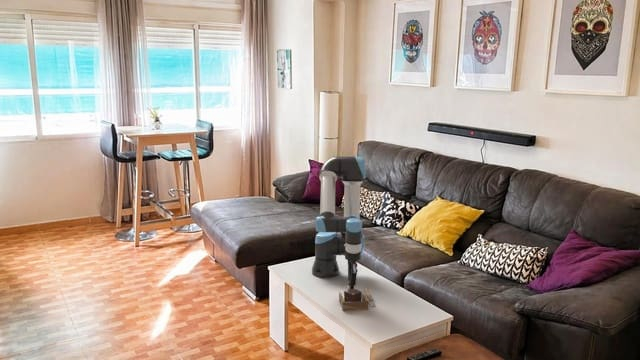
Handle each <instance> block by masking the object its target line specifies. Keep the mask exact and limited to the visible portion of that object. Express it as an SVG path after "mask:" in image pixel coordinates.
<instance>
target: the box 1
mask: <svg viewBox="0 0 640 360" xmlns="http://www.w3.org/2000/svg"><path fill="white" fill-rule="evenodd" d="M362 292H363V291H362V290H361V291H360V290H359V289H356V288H355V287H354V288H352V289H349V288H348V289H347V290H345V291H343V299H344V301H345V302H352V301H362V300H361V293H362Z"/></svg>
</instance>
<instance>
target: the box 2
mask: <svg viewBox="0 0 640 360" xmlns="http://www.w3.org/2000/svg"><path fill="white" fill-rule="evenodd" d="M361 292H362V293H361V301H352V302H345V301H344V295H343V294H342V292H338V301H339V305H340V307H341V310H342V311H343V312H344V311H345V312H346V311H368V310H369V303H368V299H367V296H366V294H365V292H364V291H361Z"/></svg>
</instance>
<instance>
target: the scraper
mask: <svg viewBox="0 0 640 360" xmlns="http://www.w3.org/2000/svg"><path fill="white" fill-rule="evenodd" d="M363 292H364V294H365V296H366V298H367V300H368V306H369V307H370V308H374V307H375V308H376V304H375V301H374V299H373V297H372V295H371V293H370V291H369V288H367V287H365V288H364V289H363Z"/></svg>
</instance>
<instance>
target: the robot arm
mask: <svg viewBox="0 0 640 360" xmlns="http://www.w3.org/2000/svg"><path fill="white" fill-rule="evenodd" d="M318 177H319V180H320V203H319V204H320V205H319V206H320V207H319V216H316V217H315V231H316V232H318V233H317V234H315V239H314V240H315V241H314V243H315V245H314V246H315V249H314V250H315V251H314V252H315V253H314V254H315V255H314V256H315V257H314V261H313V264H312V267H311V274H312V275H313V276H316V277H319V278H333V277H336V276H338V275H339V274H340V268H339V264H338V261H337V256H344V259H345V260H346V261H347V281H348V283H347V286H348V290H349V289H352V288H354V289H355V287H356V285H357V283H356V282H357V276H358V269H357V268H358V263H357V262H358V261H360V260H361V256H362V254H363V251H364V246H365V238H366V237H365V234H364V233H363V222H362V220H361V219H360V216H361V215H360V214H361V213H360V212H361V185H362V184H363V182H364V179H366V177H367V172H366V163H365V158H363V157H362V156H338V155H336V156H332V157H330V158H329V159H327V160H326V161H325V162H323V164H322V166H321V168H320V170H319V174H318ZM338 179H341V182H342V183H343V186H344V189H343V190H344V192H343V193H344V197H343V204H344V205H343V216H341V217H339V216H336V181H337V180H338Z"/></svg>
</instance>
